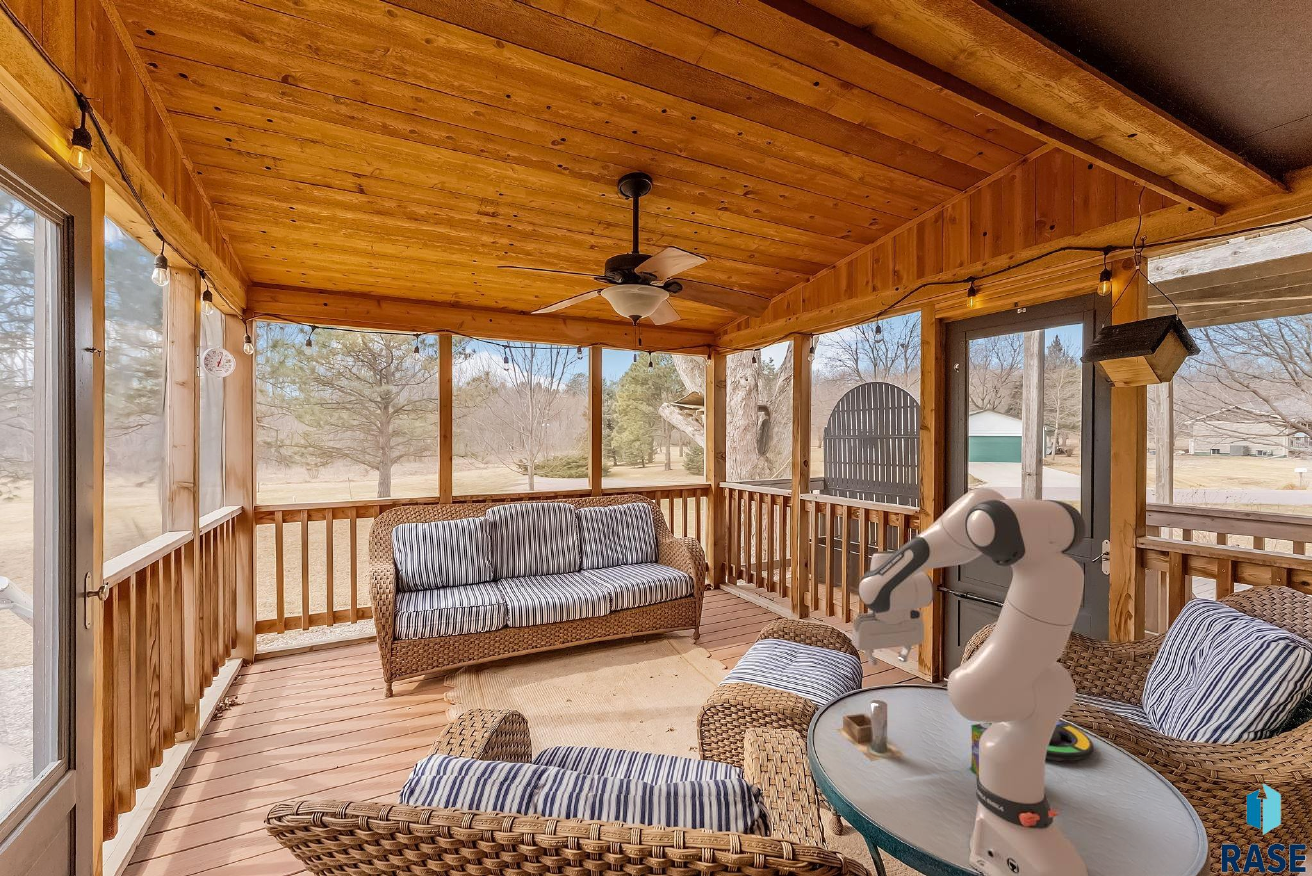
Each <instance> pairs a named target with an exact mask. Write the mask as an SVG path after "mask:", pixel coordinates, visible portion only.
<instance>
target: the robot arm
mask: <svg viewBox="0 0 1312 876" xmlns="http://www.w3.org/2000/svg"><path fill="white" fill-rule="evenodd" d="M1086 529H1087V527H1086V523H1085V520H1084V518H1083V515H1082V514H1081V512H1079V510H1078V509H1077V508H1075V507H1074V506H1073V505H1071V504H1068V503H1067V502H1064V501H1060V500H1054V499H1028V498H1024V497H1023V498H1021V497H1020V498H1008V499H1007V498H1006V497H1005V496H1003V494H1001V493H1000V492H998V491H996V490H994V489H991V488H989V487H988V488H987V487H986V488H985V487H977V488H976V487H975V488H973V489H971V490H970V491H968V492H966V493H965V494H964V495H962V496H961V497H960V498H958V499H956V501H954V502H953V503H952V504H951V505H950V506H949V507H948V508H947V509H946V510H945V511H944V512H943V514H942V515H940V517H938V518H937V519H936V520H935V521H934V522H933V523H932V524H931V525H929V527H927V528H926V529H925V530H923V531H922V532H921V533H919V534H918V535H916V536H915V537H913V538H911V540H909V541H907V542H906V543H904V544H903V545H902V546H900V547H899V549H897V550H890V551H889V550H888V551H887V550H886V551H885V550H884V551H876V552H874V553H873V554H872V557H871V560H870V561H871V562H870V569H869V571H866V572H865V573H864V574H863V575H862V576H861V578H860V580H859V583H858V586H857V588H858V589H857V591H858V597H859V599H860V601H861V602H862V603H863V604H864V605H865V606H866V608H867V609H869V612H867V613H858V614H857V615H856V616H855V617H854V618H853V619H852V620H853V621H852V623H853V624H852V625H853V627H852V633H851V644H852V646H853V647H854V648H855V649H857V650H859V651H861V652H864V653H865V654H866V656H867V658H868V661H867V663H868V664H869V665H870V666H872V667H874V666H877V665H878V658H876V657H875V656H873V654H875V653H874V652H875V650H880V649H881V650H882V649H889V648H898V647H899V648H900V647H902V650H901V652H900V653H898V661H899V662H901V663H907V662H908V660H909V659H908V658H909V657H908V656H909V655H910V652H912V646H916V645H922V644H923V642H924V640H925V626H924V622H923V620H922V618H923V614H924V613H923V611H922V610H921V609H923V608H927V607H929V606H930V605H931V604H932V602H933V601H934V597H935V584H934V582H933V579H932V578H931V576H930V575H929V574H928V573H926V572H925V571H927V570H928V571H929V570H932V569H933V570H934V569H939V568H946V567H953V566H954V567H955V566H959V565H960V566H961V565H964V564H967V563H969V562H971V561H973V560H975V559H977V558H979V557H980V556H982V555H985V556H987V557H989V558H990V559H991V560H992V561H993V563H995V565H997V566H1000V567H1011V569H1012V578H1011V579H1012V580H1011V582H1010V585H1009V588H1008V591H1007V593H1006V596H1005V599H1004V603H1003V605H1002V608H1001V611H1000V614H999V616H998V619H997V622H996V624H995V625H994V628H993V630H992V631H991V632H990V634H989V636H988V637H987V638H986V639H985V640H984V642H983V643H982V644H981V646H980V647H979V648H978V649H977V650H976V652H975V653H974V654H973V655H972V656H971V657H970V658H969V659H968V660H966V661H965V662H964V663H963V664H961V665H960V666H959V667H957V668H954V669H953V670H952V671H951V672H950V674H949V676H948V679H947V694H948V697H949V700H950V703H951V704H952V706H953V707H954V709H955V710H956V712H958V713H959V715H961V717H962V718H965V719H966V720H968V721H971V722H976V723H977V722H978V723H992V724H991V726H990V727H989V728H988V729H987V730H986V731H985V732H984V733H983V734H982V736H981V738H980V741H979V774H978V775H977V774H976V775H977V776H976V780H975V781H976V783H975V792H976V793H975V794H976V799H977V807H976V813H975V819H974V821H975V822H974V827H973V831H972V834H971V837H970V839H969V849H970V854H969V859H968V863H969V866H971V867H972V868H974V869H975V870H976V869H977V870H976V871H977V872H979V873H980V872H982V873H983V874H986V875H987V876H1089V873H1088V869H1087V866H1086V864H1085V862H1084V861H1083V859H1082V857H1081V856H1080V855H1079V854H1078V849H1077V847H1076V845H1075V844H1074V843H1073V842H1071V841H1069V840H1068V839H1067V837H1066V836H1065V835H1064V833H1063V832H1062V830H1061V829H1060V828H1059V827H1058V825H1057V824H1056V822H1055V821H1054V818H1055V817H1058V816H1059V814H1057V813H1058V812H1059V810H1058V809H1057V808H1056V809H1051V807H1050V803H1049V800H1048V796H1047V795H1046V792H1045V776H1046V775H1045V774H1046V773H1045V770H1046V759H1045V758H1046V753H1047V749H1048V745H1049V742H1050V740H1051V737H1052V734H1053V732H1054V730H1055V727H1056V725H1057V723H1058V721H1060V719H1061V718H1062V716H1063V715H1064V714H1065V712H1067V710H1069V709H1070V707H1072V705H1073V704H1074V702H1075V701H1076V696H1077V690H1076V686H1075V683H1074V680H1073V677H1072V676H1071V675H1070V673H1069V672H1068V670H1067V669H1066V668H1065V667H1064V666H1063V665H1062V664H1060V663H1059V662H1058V660H1059V659H1060V657H1061V656H1062V655H1063V654H1064V653H1063V652H1064V651H1065V648H1066V646H1067V642H1068V640H1069V638H1070V635H1071V632H1072V630H1073V628H1074V625H1075V623H1076V619H1077V617H1078V614H1079V611H1080V607H1081V604H1082V599H1083V593H1084V586H1085V574H1084V571H1083V568H1082V566H1081V565H1080V564H1079V563H1078V562H1077V561H1075V560H1074V559H1073V558H1072V557H1070V556H1068V555H1067V554H1065V553H1068V552H1071V551H1073V550H1075V549H1077V548H1078V547H1080V546H1081V544H1082V543H1083V542H1084V540H1085V537H1086V531H1087V530H1086ZM982 873H981V874H982ZM983 874H982V875H983Z"/></svg>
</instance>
